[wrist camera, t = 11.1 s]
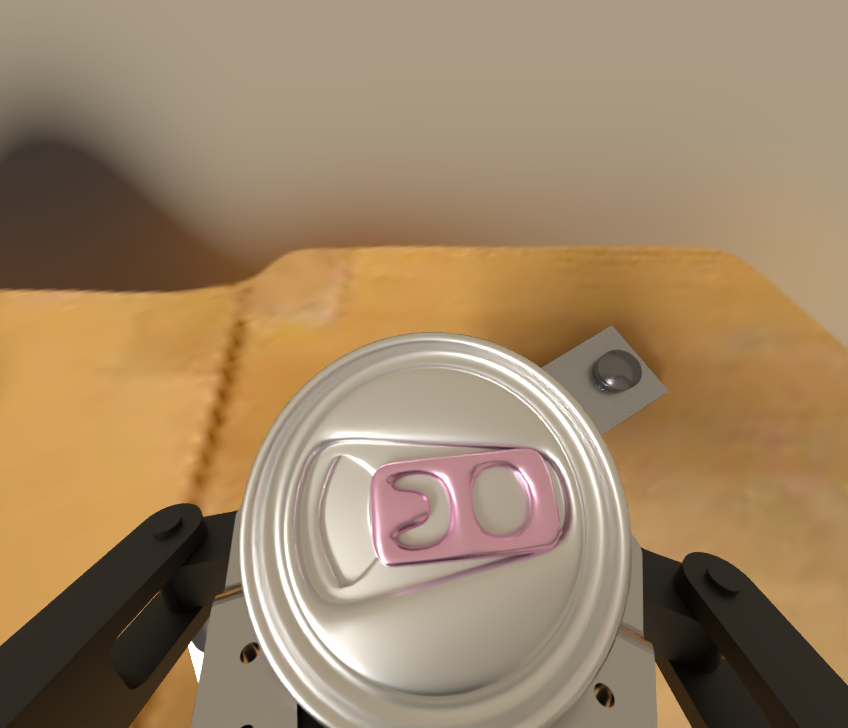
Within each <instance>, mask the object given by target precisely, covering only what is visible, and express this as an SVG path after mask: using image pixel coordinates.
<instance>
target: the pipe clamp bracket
mask: <svg viewBox="0 0 848 728" xmlns="http://www.w3.org/2000/svg"><path fill="white" fill-rule="evenodd" d="M542 369H543V370H545V371H546V372H547V373H549V374H550V375H551V376H552V377H554V378H555V379H556V380H557V381H558V382H559V383H560V384H562V385H563V386H564V387H565V388H566V389H567V390H568V391H569V392H570V393H571V395H572V396H573V397H574V398H575V399H576V400H577V401H578V402H579V404H580V405H581V406H582V407H583V409H584V410H585V411H586V413H587V414H588V415H589V417H590V418H591V420H592V421H593V423H594V424H595V426H596V427H597V429H598V430H599V432H600V434H601V435H602V434H604V433H606V432H607V431H609V430H610V429H612V428H613V427H615V426H616V425H618V424H619V423H621V422H622V421H624V420H625V419H627V418H628V417H630V416H632V415H633V414H635V413H636V412H638V411H639V410H641V409H642V408H644V407H645V406H647V405H648V404H650V403H651V402H653V401H654V400H656V399H658V398H659V397H661V396H662V395H664V394H665V393H667V392H668V391H669V390H668V389H667V388H666V387H665V386H664V385H663V383H662V382H661V381H660V380H659V379H658V378H657V376H656V375H655V374H654V373H653V372H652V371H651V370H650V368H649V367H648V366H647V365H646V364H645V363H644V361H643V360H642V359H641V358H640V357H639V356H638V354H637V353H636V352H635V351H634V350H633V349H632V347H631V346H630V345H629V344H628V343H627V342H626V341H625V339H624V338H623V337H622V336H621V335H620V334H619V332H618V331H617V330H616V329H615V328H614V327H613V325H611V326H610V327H608V328H606V329H605V330H603V331H601V332H600V333H598V334H596V335H595V336H593V337H591V338H590V339H588V340H586V341H585V342H583V343H581V344H580V345H578V346H576V347H575V348H573V349H571V350H570V351H568V352H566V353H565V354H563V355H562V356H560V357H558V358H557V359H555V360H553V361H552V362H550V363H548V364H547V365H545V366H543V367H542ZM209 620H210V617H209V618H208V619H207V621H206V622H205V623H204V625H203V626H202V628H201V629H200V630H199V632H198V633H197V634H196V636H195V637H194V638H193V640H192V641H191V643H190V644H189V645H188V647H189V651H190V654H191V658H192V661H193V665H194V668H195V672H196V675H197V679H198V682H199V677H200V672H201V666H202V660H203V654H204V649H205V643H206V637H207V631H208V626H209Z"/></svg>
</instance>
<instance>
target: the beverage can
mask: <svg viewBox="0 0 848 728" xmlns="http://www.w3.org/2000/svg"><path fill="white" fill-rule="evenodd" d="M238 555H239V570H240V579H241V586H242V591H243V597H244V601H245V605H246V609H247V613H248V616H249V619H250V622H251V625H252V628H253V631H254V634H255V636H256V638H257V641H258V643H259V645H260V647H261V650H262V652H263V654H264V655H265V657H266V659H267V661H268V663H269V665H270V667H271V668H272V670H273V671H274V673H275V674H276V676H277V678H278V679H279V681H280V682H281V683H282V685H283V686H284V687H285V689H286V690H287V691H288V693H289V694H290V695H291V696H292V698H293V699H294V700H295V701H296V702H297V703H298V704H299V705H300V706H301V707H302V708H303V710H304V711H306V712H307V713H308V714H309V715H310V716H311V717H312V718H313V719H314V720H315V721H316V722H318V723H319V724H320V725H321V726H323V727H324V728H551V727H552V726H553V725H554V724H556V723H557V722H558V721H559V720H560V719H561V718H562V717H563V716H565V715H566V714H567V713H568V712H569V711H570V710H571V709H572V708H573V707H574V705H575V704H576V703H577V702H578V701H579V700H580V699H581V697H582V696H583V695H584V694H585V693H586V691H587V690H588V688H589V687H590V686H591V684H592V683H593V681H594V680H595V679H596V677H597V675H598V674H599V672H600V670H601V669H602V667H603V665H604V663H605V662H606V660H607V657H608V655H609V653H610V651H611V649H612V647H613V645H614V642H615V640H616V637H617V635H618V632H619V629H620V626H621V623H622V619H623V616H624V613H625V609H626V604H627V599H628V595H629V588H630V581H631V571H632V534H631V524H630V517H629V511H628V505H627V500H626V496H625V492H624V488H623V485H622V482H621V479H620V475H619V472H618V470H617V467H616V465H615V462H614V460H613V457H612V455H611V453H610V451H609V449H608V447H607V445H606V443H605V441H604V439H603V437H602V436H601V434H600V432H599V430H598V429H597V427H596V426H595V424H594V423H593V421H592V420H591V418H590V417H589V415H588V414H587V413H586V411H585V410H584V409H583V407H582V406H581V405H580V404H579V402H578V401H577V400H576V399H575V398H574V397H573V396H572V395H571V393H570V392H569V391H568V390H567V389H566V388H565V387H564V386H563V385H562V384H560V383H559V382H558V381H557V380H556V379H555V378H554V377H552V376H551V375H550V374H549V373H547V372H546V371H545V370H543V369H542V368H541V367H539V366H538V365H537V364H535V363H533V362H532V361H530V360H529V359H527V358H525V357H524V356H522V355H520V354H518V353H516V352H514V351H512V350H510V349H508V348H506V347H503V346H501V345H498V344H496V343H493V342H490V341H487V340H484V339H480V338H477V337H472V336H467V335H462V334H455V333H444V332H421V333H410V334H403V335H398V336H393V337H389V338H385V339H382V340H378V341H375V342H372V343H370V344H367V345H365V346H362V347H360V348H358V349H356V350H353V351H351V352H349V353H348V354H346V355H344V356H342V357H340V358H339V359H337V360H336V361H334V362H333V363H331V364H329V365H328V366H327V367H325V368H324V369H323V370H321V371H320V372H319V373H317V374H316V375H315V376H314V377H313V378H312V379H310V380H309V381H308V382H307V383H306V384H305V385H304V386H303V387H302V388H301V389H300V390H299V391H298V392H297V393H296V394H295V395H294V397H293V398H292V399H291V400H290V401H289V402H288V403H287V405H286V406H285V407H284V409H283V410H282V411H281V413H280V414H279V415H278V417H277V419H276V420H275V422H274V423H273V425H272V426H271V428H270V430H269V431H268V433H267V435H266V437H265V439H264V440H263V443H262V445H261V447H260V449H259V451H258V453H257V456H256V458H255V461H254V463H253V466H252V468H251V472H250V475H249V478H248V481H247V485H246V489H245V493H244V497H243V502H242V508H241V514H240V523H239V538H238Z"/></svg>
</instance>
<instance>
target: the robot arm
mask: <svg viewBox="0 0 848 728" xmlns="http://www.w3.org/2000/svg"><path fill="white" fill-rule="evenodd" d="M241 508H242V505H241V507H240V508H239V509H238V510H237V511H233V512H228V513H223V514H217V515H212V516H206V517H203V515H202V512H201V510H200V508H199V507H197V506H196V505H193V504H188V503H183V504H176V505H172V506H169V507H166V508H164V509H162V510H160V511H158V512H156V513H155V514H153V515H152V516H150V517H149V518H147V519H146V520H145V521H144V522H143V523H141V524H140V525H139V526H138V527H137V528H136V529H135V530H133V531H132V532H131V533H130V534H129V535H128V536H126V537H125V538H124V539H123V540H122V541H121V542H120V543H118V544H117V545H116V546H115V547H114V548H113V549H112V550H110V551H109V552H108V553H107V554H106V555H105V556H103V557H102V558H101V559H100V560H99V561H98V562H97V563H95V564H94V565H93V566H92V567H91V568H90V569H88V570H87V571H86V572H85V573H84V574H83V575H82V576H80V577H79V578H78V579H77V580H76V581H75V582H74V583H72V584H71V585H70V586H69V587H68V588H67V589H65V590H64V591H63V592H62V593H61V594H60V595H59V596H57V597H56V598H55V599H54V600H53V601H52V602H50V603H49V604H48V605H47V606H46V607H45V608H44V609H42V610H41V611H40V612H39V613H38V614H37V615H36V616H34V617H33V618H32V619H31V620H30V621H29V622H27V623H26V624H25V625H24V626H23V627H22V628H21V629H19V630H18V631H17V632H16V633H15V634H14V635H12V636H11V637H10V638H9V639H8V640H7V641H6V642H4V643H3V644H2V645H1V646H0V728H128V727H129V726H130V725H131V723H132V722H133V721H134V719H135V718H136V716H137V715H138V714H139V712H140V711H141V710H142V708H143V707H144V705H145V704H146V703H147V701H148V700H149V699H150V697H151V696H152V695H153V693H154V692H155V690H156V689H157V688H158V686H159V685H160V684H161V682H162V681H163V679H164V678H165V677H166V675H167V674H168V673H169V671H170V670H171V669H172V667H173V666H174V664H175V663H176V662H177V660H178V659H179V658H180V656H181V655H182V653H183V652H184V651H185V649H186V648H187V647H188V645H189V644H190V643H191V641H192V640H193V638H194V637H195V636H196V634H197V633H198V632H199V630H200V629H201V628H202V626H203V625H204V623H205V622H206V621H207V619H208V618H209V617H210V620H209V626H208V631H207V637H206V643H205V649H204V654H203V660H202V666H201V672H200V677H199V683H198V689H197V695H196V700H195V706H194V712H193V718H192V723H191V728H324V727H323V726H321V725H320V724H319V723H318V722H316V721H315V720H314V719H313V718H312V717H311V716H310V715H309V714H308V713H307V712H306V711H304V710H303V708H302V707H301V706H300V705H299V704H298V703H297V702H296V701H295V700H294V699H293V698H292V696H291V695H290V694H289V693H288V691H287V690H286V689H285V687H284V686H283V685H282V683H281V682H280V681H279V679H278V678H277V676H276V674H275V673H274V671H273V670H272V668H271V667H270V665H269V663H268V661H267V659H266V657H265V655H264V654H263V652H262V650H261V647H260V645H259V643H258V641H257V638H256V636H255V634H254V631H253V628H252V625H251V622H250V619H249V616H248V613H247V609H246V605H245V601H244V597H243V591H242V586H241V579H240V570H239V555H238V538H239V523H240V514H241ZM157 593H158V594H157ZM156 594H157V595H156ZM155 595H156V596H155ZM154 596H155V597H154ZM153 597H154V598H153ZM152 598H153V599H152ZM151 599H152V601H151V602H150V603H149V604H148V602H149V601H150V600H151ZM147 604H148V605H147ZM146 605H147V606H146ZM145 606H146V607H145ZM144 607H145V608H144ZM143 608H144V609H143ZM142 609H143V611H142V612H141V613H140V614H139V612H140V611H141V610H142ZM138 614H139V615H138ZM137 615H138V616H137ZM136 616H137V617H136ZM135 617H136V618H135ZM134 618H135V619H134ZM133 619H134V620H133ZM132 620H133V622H132V623H131V624H130V625H129V623H130V622H131V621H132ZM128 625H129V626H128ZM127 626H128V627H127ZM126 627H127V628H126ZM125 628H126V629H125ZM124 629H125V630H124ZM123 630H124V632H123V633H122V634H121V635H120V633H121V632H122V631H123ZM119 635H120V636H119ZM118 636H119V637H118ZM117 637H118V638H117ZM655 662H656V663H657V665H658V667H659V669H660V671H661V672H662V674H663V676H664V678H665V680H666V682H667V683H668V685H669V687H670V689H671V691H672V692H673V694H674V696H675V698H676V700H677V701H678V703H679V705H680V707H681V709H682V710H683V712H684V714H685V716H686V718H687V719H688V721H689V723H690V725H691V727H692V728H848V685H847V684H846V683H845V682H844V681H843V680H842V679H841V678H840V677H839V676H838V675H837V673H836V672H835V671H834V670H833V669H832V668H831V667H830V666H829V665H828V664H827V663H826V662H825V660H824V659H823V658H822V657H821V656H820V655H819V654H818V653H817V652H816V651H815V650H814V648H813V647H812V646H811V645H810V644H809V643H808V642H807V641H806V640H805V639H804V638H803V636H802V635H801V634H800V633H799V632H798V631H797V630H796V629H795V628H794V627H793V626H792V625H791V623H790V622H789V621H788V620H787V619H786V618H785V617H784V616H783V615H782V614H781V613H780V611H779V610H778V609H777V608H776V607H775V606H774V605H773V604H772V603H771V602H770V601H769V599H768V598H767V597H766V596H765V595H764V594H763V593H762V592H761V591H760V590H759V589H758V588H757V586H756V585H755V584H754V583H753V582H752V581H751V580H750V579H749V578H748V577H747V576H746V575H745V574H744V573H743V572H741V571H740V570H739V569H738V568H736V567H735V566H733V565H732V564H730V563H729V562H727V561H725V560H723V559H721V558H719V557H717V556H714V555H711V554H708V553H703V552H693V553H690V554H688V555H687V556H685V558H684V560H683V562H682V563H681V562H678V561H675V560H672V559H669V558H667V557H664V556H661V555H658V554H655V553H653V552H650V551H648V550H645V549H643V548H641V547H640V545H639V543H638V542H637V540H636V539H635V538H634V536H633V535H632V571H631V581H630V588H629V595H628V599H627V604H626V609H625V613H624V616H623V619H622V623H621V626H620V629H619V632H618V635H617V637H616V640H615V642H614V645H613V647H612V649H611V651H610V653H609V655H608V657H607V660H606V662H605V663H604V665H603V667H602V669H601V670H600V672H599V674H598V675H597V677H596V679H595V680H594V681H593V683H592V684H591V686H590V687H589V688H588V690H587V691H586V693H585V694H584V695H583V696H582V697H581V699H580V700H579V701H578V702H577V703H576V704H575V705H574V707H573V708H572V709H571V710H570V711H569V712H568V713H567V714H566V715H565V716H563V717H562V718H561V719H560V720H559V721H558V722H557V723H556V724H554V725H553V726H552V727H551V728H657V704H656V677H655ZM729 664H730V665H729ZM746 688H747V689H746Z"/></svg>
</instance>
